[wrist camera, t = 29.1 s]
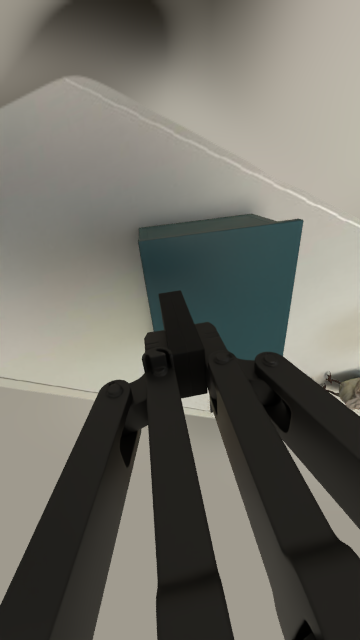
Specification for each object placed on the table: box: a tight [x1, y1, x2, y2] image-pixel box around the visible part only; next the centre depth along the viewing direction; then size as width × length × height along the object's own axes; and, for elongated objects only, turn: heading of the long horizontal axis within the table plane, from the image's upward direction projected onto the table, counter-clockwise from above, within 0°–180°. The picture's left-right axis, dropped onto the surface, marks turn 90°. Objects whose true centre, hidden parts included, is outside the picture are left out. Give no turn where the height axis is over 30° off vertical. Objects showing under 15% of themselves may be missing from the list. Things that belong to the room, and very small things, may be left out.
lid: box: [138, 219, 303, 360], centre depth 27 cm, size 18×15×1 cm
